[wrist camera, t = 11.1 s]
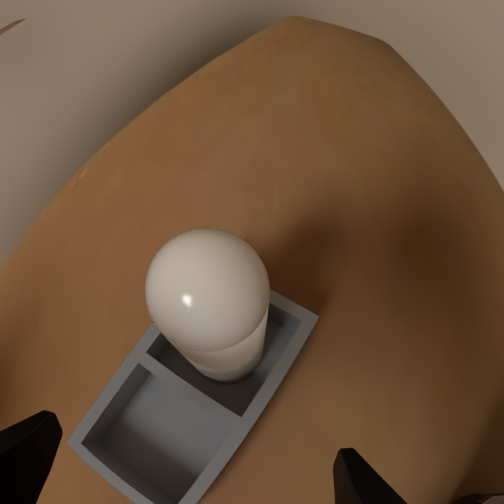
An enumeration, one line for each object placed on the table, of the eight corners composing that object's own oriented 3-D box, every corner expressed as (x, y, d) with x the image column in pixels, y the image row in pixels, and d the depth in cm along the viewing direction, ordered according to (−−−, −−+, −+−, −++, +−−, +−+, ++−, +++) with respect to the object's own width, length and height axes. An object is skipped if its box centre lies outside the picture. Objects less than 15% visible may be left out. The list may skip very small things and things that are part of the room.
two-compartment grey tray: (186, 514, 15) (174, 529, 12) (90, 442, 18) (66, 443, 14) (309, 331, 22) (319, 316, 19) (211, 275, 24) (206, 252, 21)
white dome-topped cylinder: (220, 398, 19) (178, 365, 8) (178, 343, 21) (105, 251, 10) (277, 354, 21) (304, 270, 10) (233, 303, 23) (215, 181, 12)
